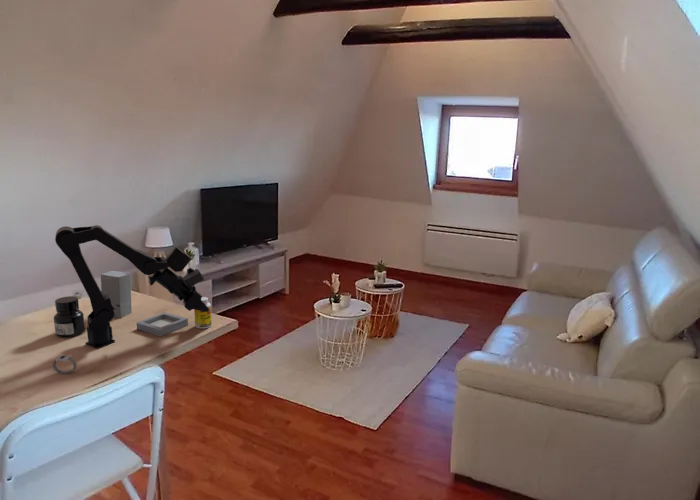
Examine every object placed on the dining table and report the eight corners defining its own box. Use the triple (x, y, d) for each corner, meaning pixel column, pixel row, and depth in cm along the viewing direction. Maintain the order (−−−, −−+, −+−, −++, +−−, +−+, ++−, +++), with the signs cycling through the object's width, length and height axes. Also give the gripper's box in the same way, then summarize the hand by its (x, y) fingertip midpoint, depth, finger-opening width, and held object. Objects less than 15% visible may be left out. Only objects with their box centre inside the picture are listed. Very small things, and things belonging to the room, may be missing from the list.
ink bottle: (49, 334, 178) (44, 301, 175) (73, 326, 186) (69, 293, 183) (67, 340, 174) (63, 306, 171) (91, 331, 182) (87, 298, 179)
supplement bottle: (200, 330, 183) (198, 302, 181) (192, 326, 187) (190, 298, 185) (214, 326, 187) (213, 298, 184) (206, 322, 191) (205, 295, 188)
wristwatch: (79, 370, 154) (77, 354, 152) (74, 375, 151) (72, 359, 150) (57, 371, 153) (55, 355, 152) (52, 375, 151) (50, 359, 149)
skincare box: (102, 316, 196) (97, 274, 192) (115, 309, 202) (111, 269, 198) (121, 318, 193) (117, 276, 189) (134, 312, 200) (130, 271, 196)
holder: (160, 336, 178) (160, 329, 177) (136, 329, 184) (136, 322, 183) (188, 324, 188) (187, 318, 187) (164, 318, 194) (164, 312, 193)
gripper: (193, 270, 171) (229, 298, 179) (182, 257, 188) (215, 282, 195) (170, 297, 170) (206, 323, 177) (160, 281, 186) (195, 306, 194)
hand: (206, 307), depth 186 cm, fingers closed on supplement bottle, 5 cm apart
